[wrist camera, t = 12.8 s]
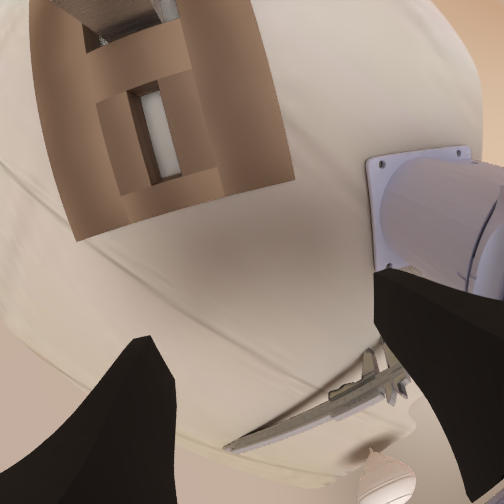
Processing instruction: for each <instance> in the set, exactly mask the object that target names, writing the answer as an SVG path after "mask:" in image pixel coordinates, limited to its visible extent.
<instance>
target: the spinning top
mask: <svg viewBox="0 0 504 504" xmlns="http://www.w3.org/2000/svg"><path fill="white" fill-rule="evenodd" d="M369 450H370V454H369V456H368V458H367V460H366V463H365V465H364V469H363V471H362V474H361V477H360V480H359V485H358V490H357V498H358V501H359V503H360V504H404V503H405V502H406V501H407V500H408V499H409V498H410V497H411V496H412V493H413V491H414V489H415V485H416V477H415V474H414V472H413V471H412V470H411V469H410V468H409V467H408V466H406V465H405V464H403V463H402V462H400V461H398V460H395V459H393V458H391V457H389V456H386V455H384V454H381V453H378V452H373V450H372V448H371V447H369Z"/></svg>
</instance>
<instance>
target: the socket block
mask: <svg viewBox="0 0 504 504" xmlns="http://www.w3.org/2000/svg"><path fill="white" fill-rule="evenodd" d="M176 4H177V9H178V13H179V17H180V18H179V19H176V20H172V21H169V22H166V23H162V24H159V25H156V26H153V27H150V28H147V29H144V30H142V31H139V32H136V33H133V34H131V35H128V36H126V37H123V38H121V39H118V40H116V41H113V42H111V43H109V44H106V45H104V46H102V47H100V41H99V35H98V34H96V33H95V32H94V31H92V30H91V29H90V28H88V27H87V26H86V25H84V24H83V23H81V22H80V21H79V20H77V19H76V18H74V17H73V16H71V15H70V14H69V13H67V12H66V11H64V10H63V9H61V8H60V7H58V6H57V5H55V4H54V3H52V2H51V1H50V0H30V1H29V34H30V51H31V63H32V72H33V80H34V88H35V94H36V101H37V106H38V112H39V117H40V122H41V127H42V132H43V136H44V141H45V145H46V149H47V153H48V157H49V161H50V164H51V168H52V171H53V175H54V178H55V182H56V185H57V188H58V191H59V194H60V198H61V201H62V204H63V207H64V209H65V212H66V215H67V218H68V221H69V223H70V226H71V229H72V231H73V234H74V237H75V239H76V242H78V241H81V240H84V239H87V238H89V237H92V236H95V235H98V234H101V233H104V232H107V231H110V230H113V229H116V228H119V227H123V226H126V225H129V224H132V223H135V222H138V221H142V220H145V219H148V218H151V217H155V216H158V215H161V214H165V213H168V212H172V211H175V210H179V209H182V208H186V207H189V206H193V205H196V204H200V203H204V202H207V201H211V200H215V199H218V198H222V197H226V196H230V195H234V194H238V193H242V192H246V191H250V190H254V189H258V188H262V187H266V186H271V185H275V184H279V183H284V182H288V181H292V180H295V176H294V171H293V166H292V162H291V157H290V152H289V147H288V143H287V138H286V134H285V129H284V125H283V121H282V116H281V112H280V108H279V104H278V100H277V96H276V91H275V87H274V84H273V80H272V76H271V72H270V68H269V64H268V61H267V57H266V53H265V49H264V46H263V42H262V39H261V35H260V32H259V28H258V25H257V21H256V18H255V15H254V11H253V8H252V5H251V2H250V0H176ZM157 90H160V93H161V97H162V101H163V105H164V109H165V113H166V117H167V121H168V125H169V129H170V133H171V136H172V140H173V144H174V148H175V151H176V155H177V159H178V162H179V166H180V169H181V173H178V174H175V175H172V176H168V177H165V178H162V179H161V176H160V172H159V169H158V165H157V162H156V158H155V154H154V151H153V147H152V144H151V140H150V136H149V132H148V128H147V125H146V121H145V117H144V113H143V109H142V105H141V101H140V96H143V95H146V94H149V93H151V92H154V91H157Z"/></svg>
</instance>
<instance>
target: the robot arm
mask: <svg viewBox="0 0 504 504" xmlns="http://www.w3.org/2000/svg"><path fill="white" fill-rule="evenodd" d="M457 151H458V154H457ZM380 161H382V163H383V165H382V167H381V168H379V162H380ZM366 172H367V179H368V187H369V196H370V206H371V216H372V228H373V243H374V261H375V271H376V272H375V273H374V324H375V326H376V328H377V329H378V331H379V333H380V335H381V336H382V338H383V340H384V341H385V343H386V345H387V346H388V348H389V349H390V350H391V352H392V353H393V354H394V356H395V357H396V358H397V360H398V361H399V362H400V363H401V365H402V366H403V367H404V369H405V370H406V371H407V373H408V374H409V375H410V376H411V378H412V379H413V380H414V382H415V383H416V384H417V386H418V387H419V388H420V390H421V391H422V392H423V394H424V395H425V397H426V398H427V400H428V402H429V403H430V405H431V407H432V409H433V411H434V412H435V414H436V416H437V418H438V420H439V422H440V424H441V426H442V428H443V430H444V432H445V434H446V436H447V439H448V441H449V443H450V445H451V448H452V451H453V453H454V455H455V458H456V461H457V463H458V466H459V469H460V472H461V476H462V479H463V482H464V486H465V490H466V494H467V496H468V498H469V499H470V501H471V502H472V503H473V502H474V501H476V500H477V499H478V498H480V497H481V496H483V495H484V494H485V493H486V492H488V491H489V490H490V489H492V488H493V487H494V486H495V485H497V484H498V483H499V482H500V481H501V480H503V479H504V167H500V166H496V165H492V164H488V163H485V162H481V161H477V160H472V159H471V150H470V147H469V146H467V145H459V146H449V147H440V148H432V149H424V150H416V151H409V152H402V153H395V154H389V155H382V156H376V157H371V158H369V159H368V160H367V162H366ZM388 263H390V264H389V266H388V267H386V266H387V264H388ZM410 265H411V266H412V267H414V268H415V269H416V270H417V271H418V272H420V273H421V274H422V275H423V276H425V277H426V278H427V279H425V278H422V277H419V276H416V275H413V274H410V273H407V272H404V271H401V270H398V269H401V268H404V267H407V266H410ZM176 410H177V403H176V388H175V379H174V377H173V375H172V374H171V372H170V370H169V369H168V367H167V365H166V363H165V362H164V360H163V358H162V356H161V354H160V353H159V351H158V349H157V347H156V345H155V343H154V341H153V340H152V338H151V336H150V335H149V336H144V337H140V338H135V339H133V340H132V341H131V342H130V343H129V344H128V345H127V346H126V348H125V349H124V350H123V351H122V353H121V354H120V355H119V357H118V358H117V359H116V360H115V362H114V363H113V364H112V366H111V367H110V368H109V370H108V371H107V372H106V374H105V375H104V376H103V377H102V379H101V380H100V381H99V383H98V384H97V385H96V386H95V388H94V389H93V390H92V391H91V392H90V394H89V395H88V396H87V397H86V399H85V400H84V401H83V402H82V404H81V405H80V406H79V407H78V408H77V409H76V411H75V412H74V413H73V414H72V415H71V416H70V417H69V418H68V419H67V420H66V421H65V422H64V423H63V424H62V425H61V426H60V427H59V428H58V429H57V430H56V431H55V432H54V433H53V434H52V435H51V436H50V437H49V438H48V439H46V440H45V441H44V442H43V443H42V444H41V445H39V446H38V447H37V448H36V449H35V450H34V451H32V452H31V453H30V454H29V455H27V456H26V457H24V458H23V459H22V460H20V461H19V462H18V463H16V464H14V465H13V466H11V467H10V468H8V469H7V470H5V471H3V472H2V473H0V504H177V497H176V489H175V480H174V449H175V429H176ZM485 504H504V488H503V489H502V490H501V491H500V492H498V493H497V494H496V495H495V496H494V497H493V498H491V499H490V500H489V501H488V502H486V503H485Z"/></svg>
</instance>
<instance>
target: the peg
mask: <svg viewBox="0 0 504 504" xmlns="http://www.w3.org/2000/svg"><path fill="white" fill-rule="evenodd" d="M50 1H51V2H52V3H54V4H55V5H57V6H58V7H60V8H61V9H63V10H64V11H66V12H67V13H69V14H70V15H71V16H73V17H74V18H76V19H77V20H79V21H80V22H81V23H83V24H84V25H86V26H87V27H88V28H90V29H91V30H92V31H94V32H95V33H96V34H98V35H99V36H100V37H102V38H103V39H104V40H106V41H107V42H108V43H111V42H113V41H116V40H118V39H121V38H123V37H126V36H128V35H131V34H133V33H136V32H139V31H142V30H144V29H147V28H150V27H153V26H156V25H159V24H162V23H164V20H163V16H162V12H161V7H160V3H159V0H50Z"/></svg>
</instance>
